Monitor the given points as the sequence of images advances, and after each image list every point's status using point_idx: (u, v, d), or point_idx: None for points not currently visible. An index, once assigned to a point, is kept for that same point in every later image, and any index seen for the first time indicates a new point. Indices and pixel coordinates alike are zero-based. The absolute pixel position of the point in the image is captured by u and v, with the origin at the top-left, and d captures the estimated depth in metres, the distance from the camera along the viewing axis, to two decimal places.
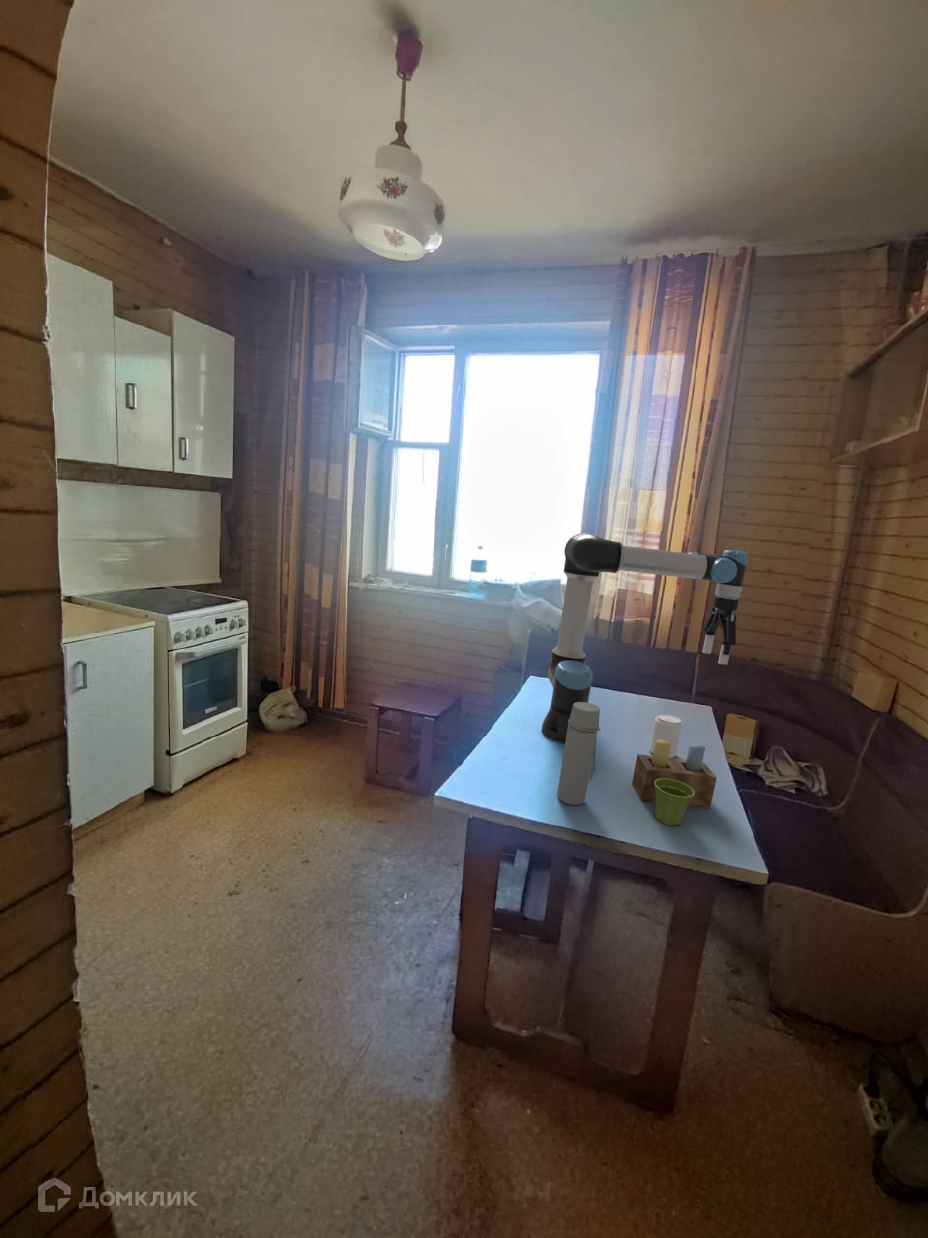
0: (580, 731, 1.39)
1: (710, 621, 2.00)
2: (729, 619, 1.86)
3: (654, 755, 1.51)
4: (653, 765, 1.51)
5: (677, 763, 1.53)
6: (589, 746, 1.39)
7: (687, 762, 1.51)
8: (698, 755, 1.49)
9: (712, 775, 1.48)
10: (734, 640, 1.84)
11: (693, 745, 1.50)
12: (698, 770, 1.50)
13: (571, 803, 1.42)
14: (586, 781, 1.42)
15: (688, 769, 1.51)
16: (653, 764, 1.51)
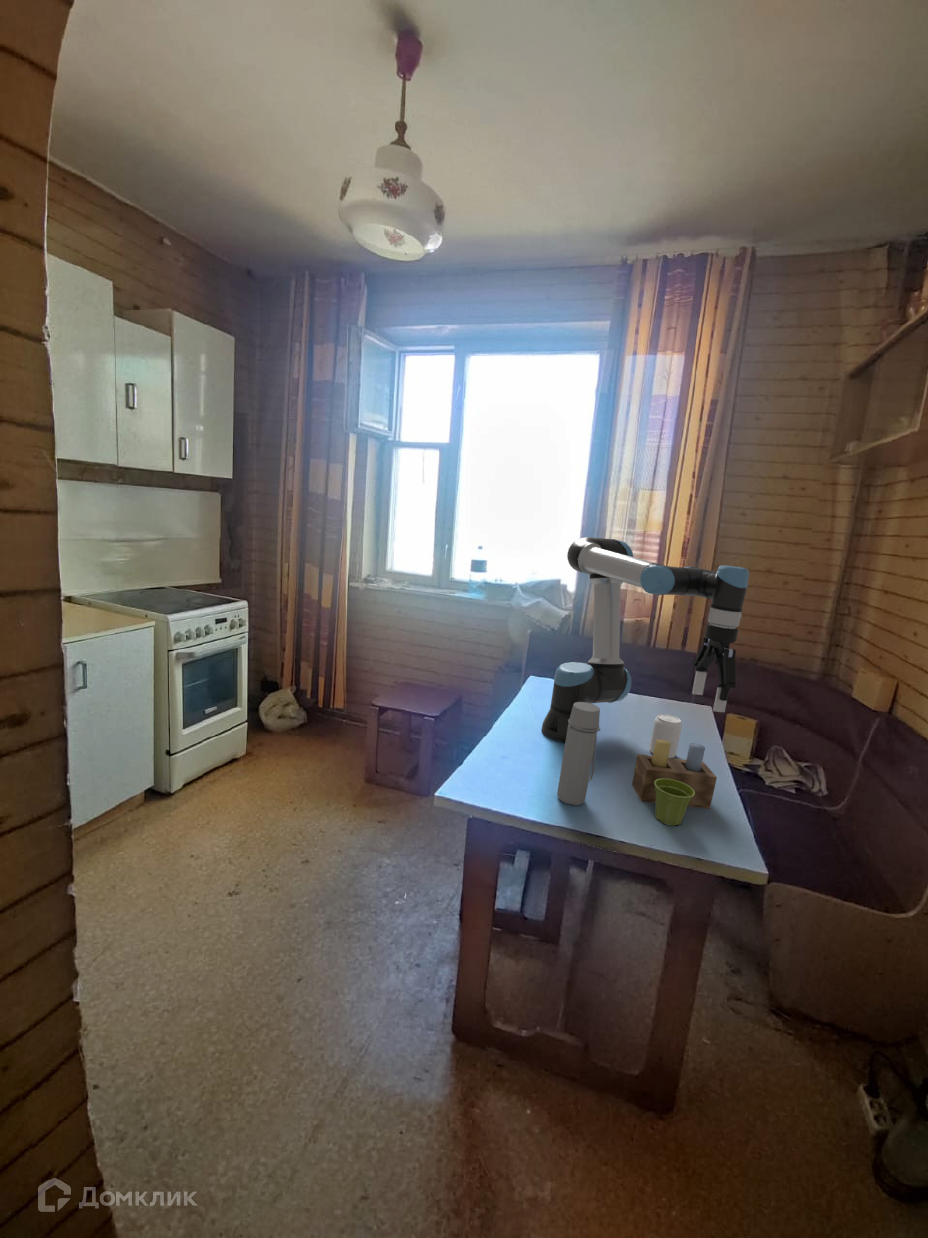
0: (580, 731, 1.39)
1: (701, 654, 1.59)
2: (727, 655, 1.44)
3: (654, 755, 1.51)
4: (653, 765, 1.51)
5: (677, 763, 1.53)
6: (589, 746, 1.39)
7: (687, 762, 1.51)
8: (698, 755, 1.49)
9: (712, 775, 1.48)
10: (733, 682, 1.43)
11: (693, 745, 1.50)
12: (698, 770, 1.50)
13: (571, 803, 1.42)
14: (586, 781, 1.42)
15: (688, 769, 1.51)
16: (653, 764, 1.51)
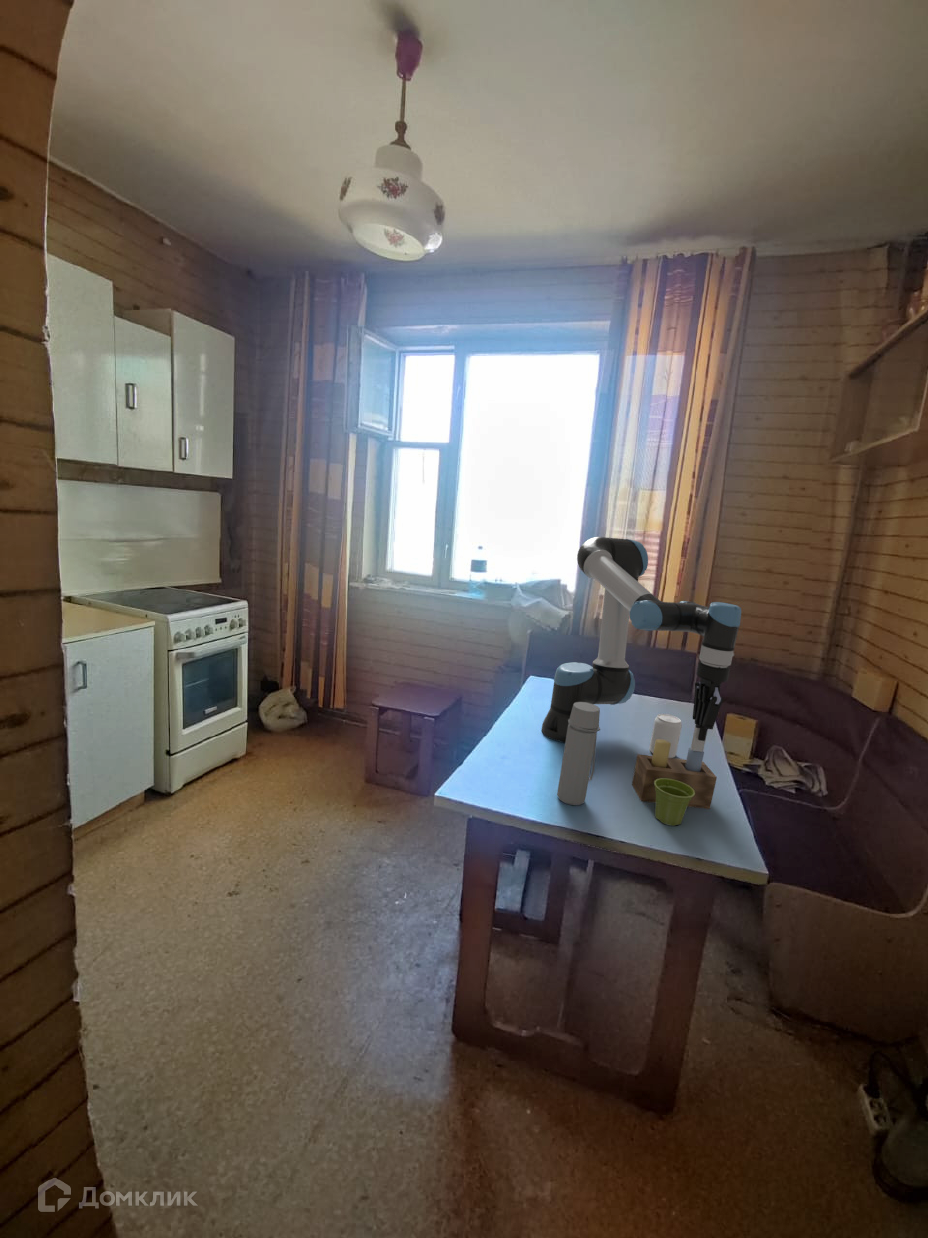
0: (580, 731, 1.39)
1: (697, 701, 1.52)
2: (713, 703, 1.42)
3: (654, 755, 1.51)
4: (653, 765, 1.51)
5: (677, 763, 1.53)
6: (589, 746, 1.39)
7: (686, 766, 1.51)
8: (698, 759, 1.49)
9: (712, 775, 1.48)
10: (712, 725, 1.45)
11: (692, 750, 1.51)
12: None
13: (571, 803, 1.42)
14: (586, 781, 1.42)
15: None
16: (653, 764, 1.51)
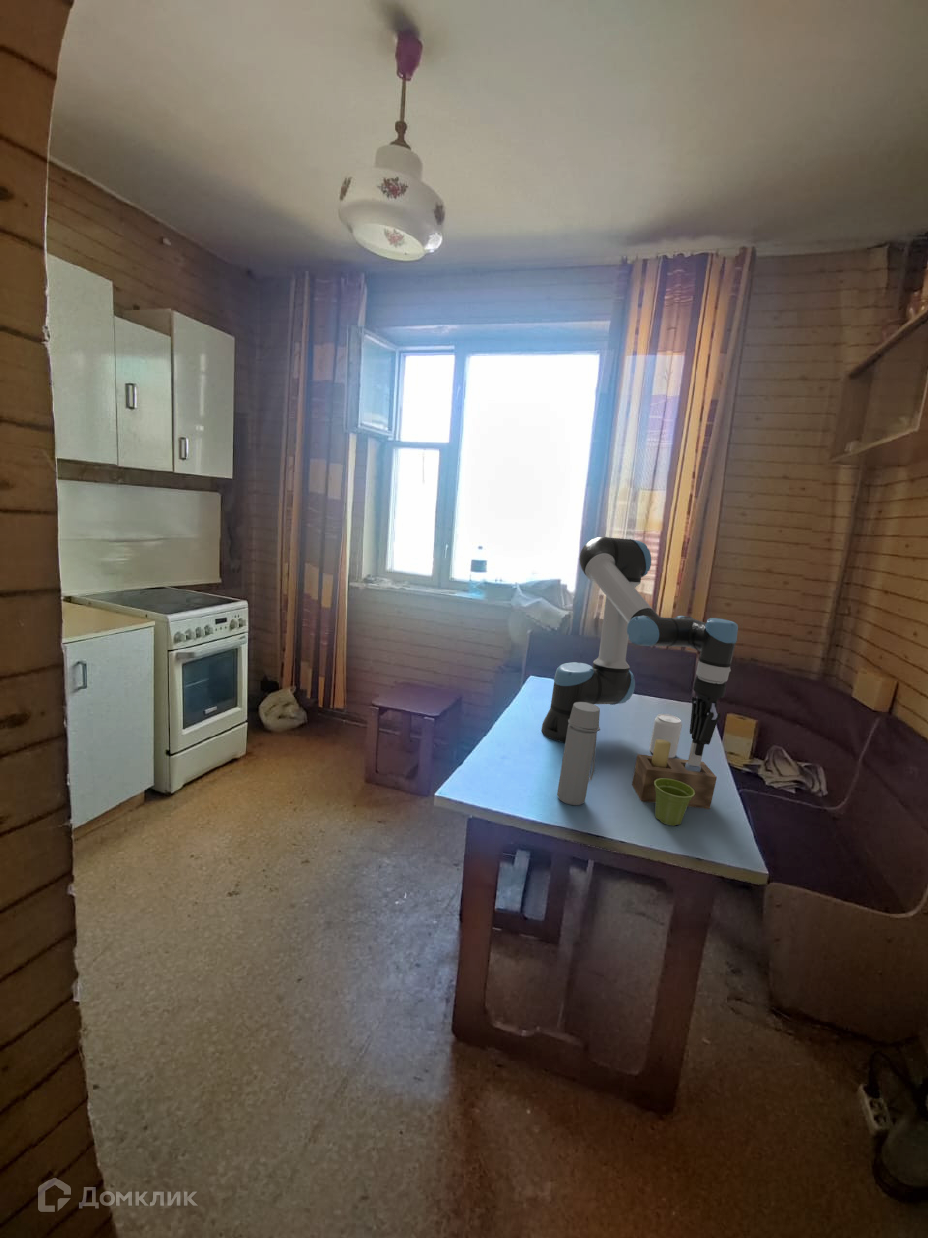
0: (580, 731, 1.39)
1: (694, 716, 1.52)
2: (710, 718, 1.43)
3: (654, 755, 1.51)
4: (653, 765, 1.51)
5: (677, 763, 1.53)
6: (589, 746, 1.39)
7: None
8: None
9: (712, 775, 1.48)
10: (708, 741, 1.46)
11: None
12: None
13: (571, 803, 1.42)
14: (586, 781, 1.42)
15: None
16: (653, 764, 1.51)
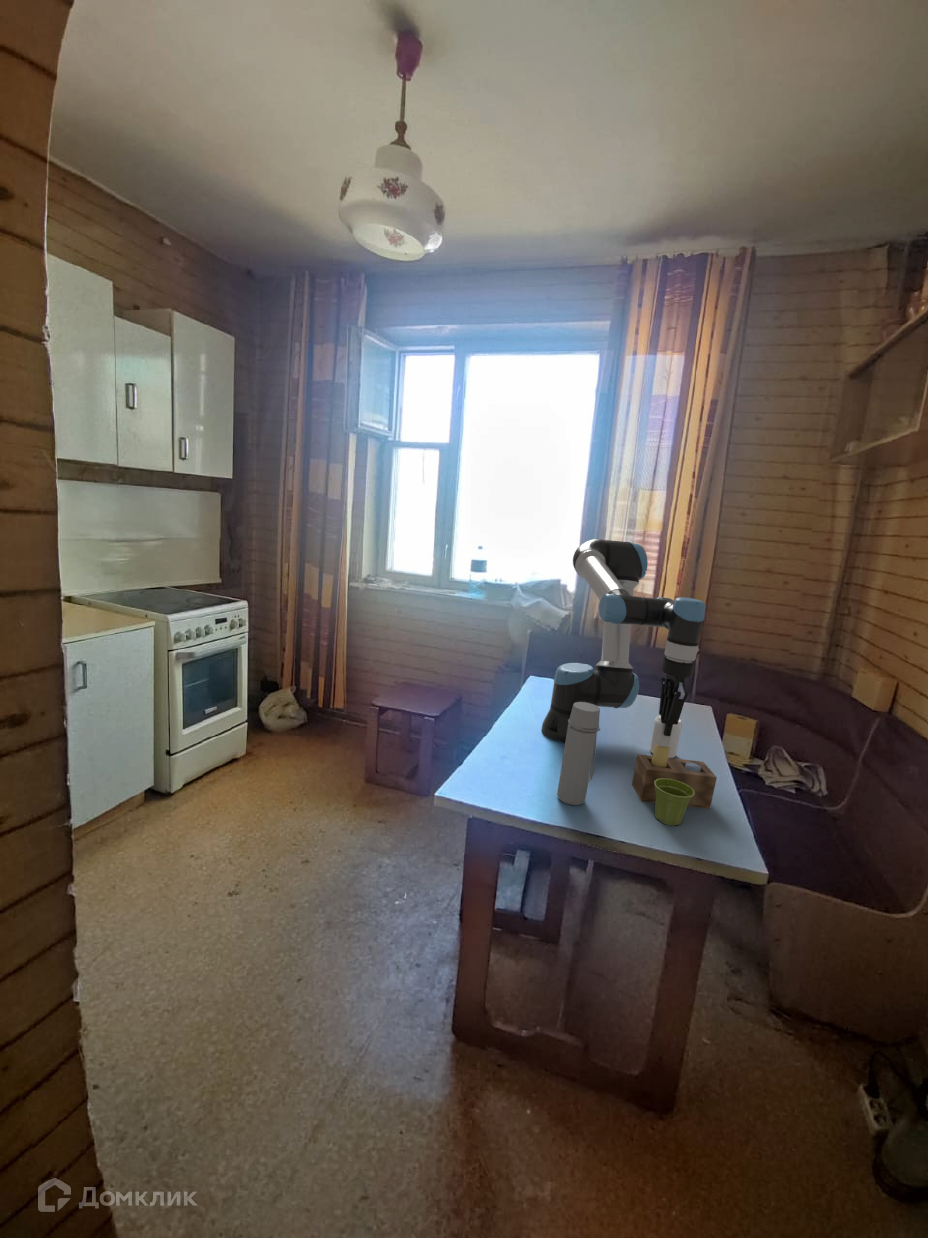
0: (580, 731, 1.39)
1: (664, 697, 1.51)
2: (677, 698, 1.42)
3: (653, 759, 1.51)
4: None
5: (677, 763, 1.53)
6: (589, 746, 1.39)
7: None
8: None
9: (712, 775, 1.48)
10: (676, 720, 1.45)
11: (689, 765, 1.52)
12: None
13: (571, 803, 1.42)
14: (586, 781, 1.42)
15: None
16: None
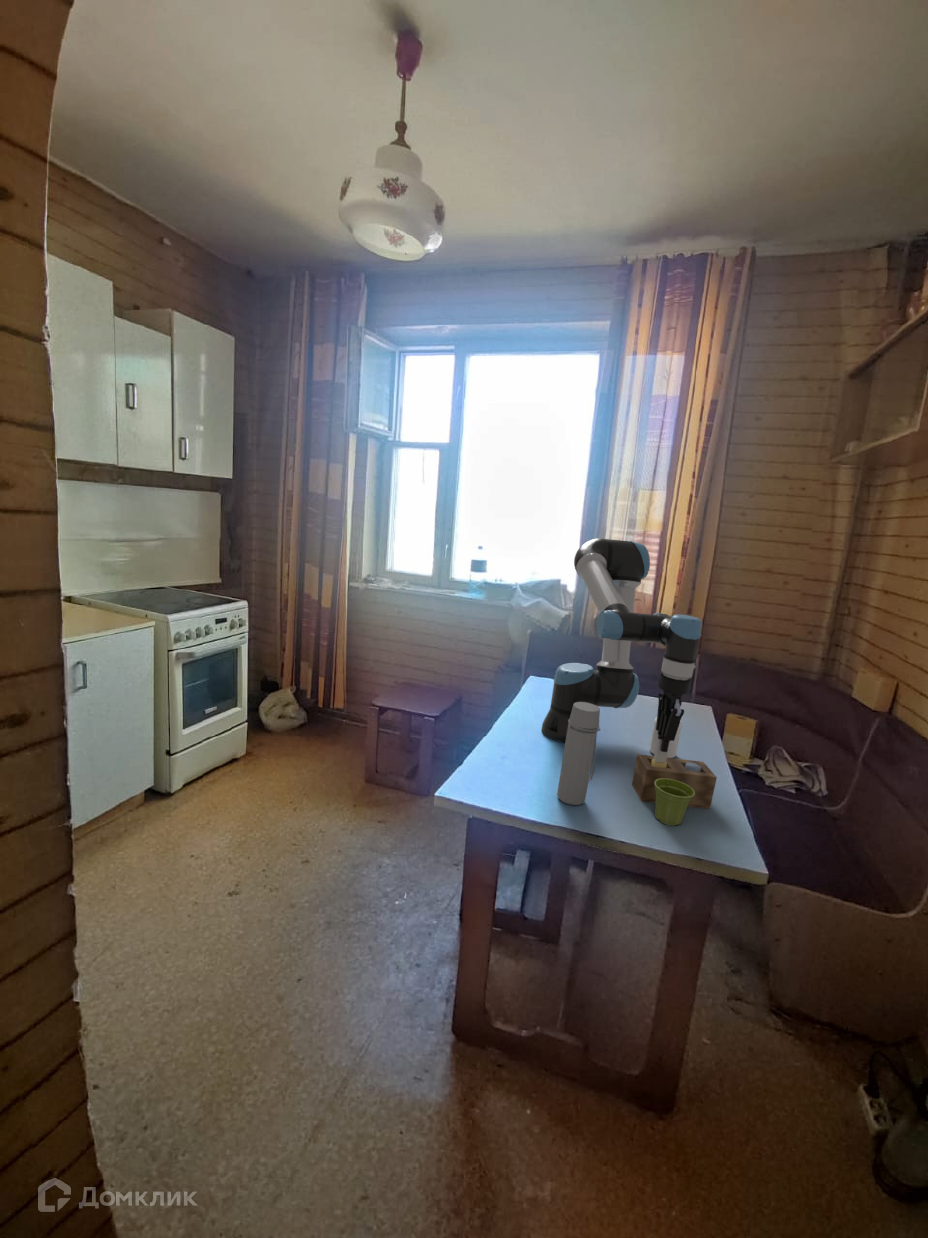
0: (580, 731, 1.39)
1: (661, 712, 1.52)
2: (674, 715, 1.43)
3: None
4: None
5: (677, 763, 1.53)
6: (589, 746, 1.39)
7: None
8: None
9: (712, 775, 1.48)
10: (673, 737, 1.46)
11: (689, 765, 1.52)
12: None
13: (571, 803, 1.42)
14: (586, 781, 1.42)
15: None
16: None
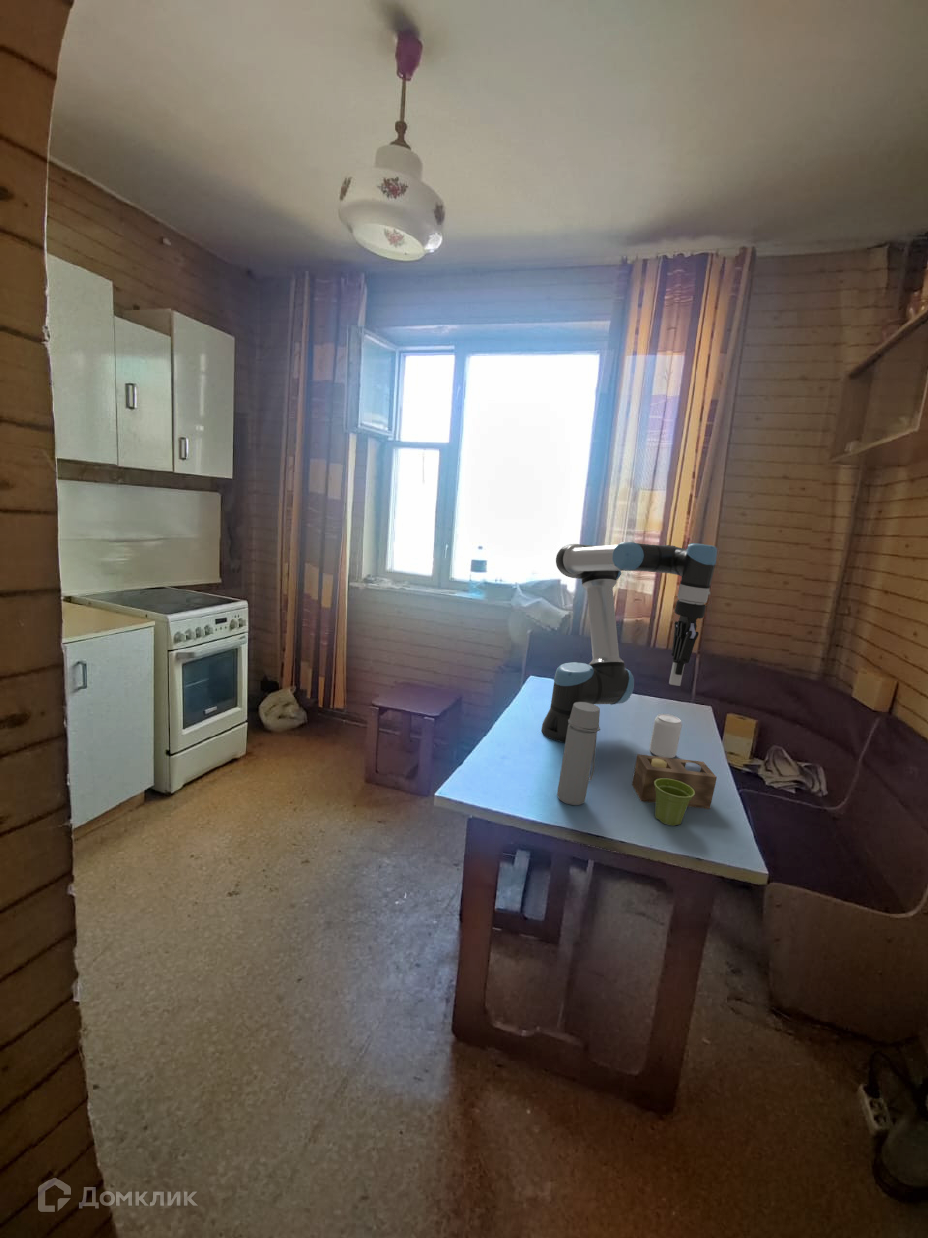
0: (580, 731, 1.39)
1: (676, 639, 1.60)
2: (688, 637, 1.51)
3: None
4: None
5: (677, 763, 1.53)
6: (589, 746, 1.39)
7: None
8: None
9: (712, 775, 1.48)
10: (687, 659, 1.54)
11: (689, 765, 1.52)
12: None
13: (571, 803, 1.42)
14: (586, 781, 1.42)
15: None
16: None
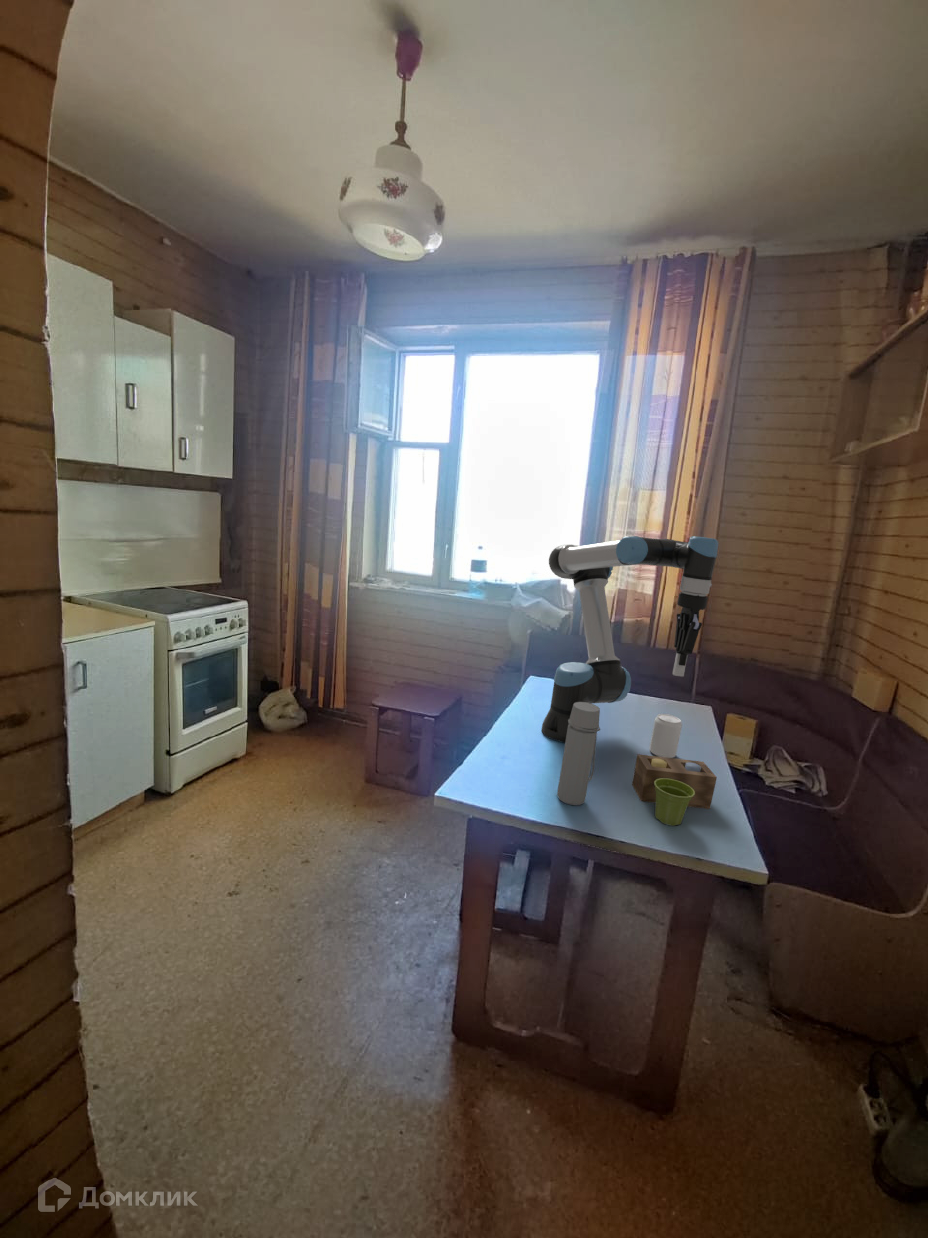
0: (580, 731, 1.39)
1: (679, 631, 1.64)
2: (692, 628, 1.54)
3: None
4: None
5: (677, 763, 1.53)
6: (589, 746, 1.39)
7: None
8: None
9: (712, 775, 1.48)
10: (691, 650, 1.57)
11: (689, 765, 1.52)
12: None
13: (571, 803, 1.42)
14: (586, 781, 1.42)
15: None
16: None
